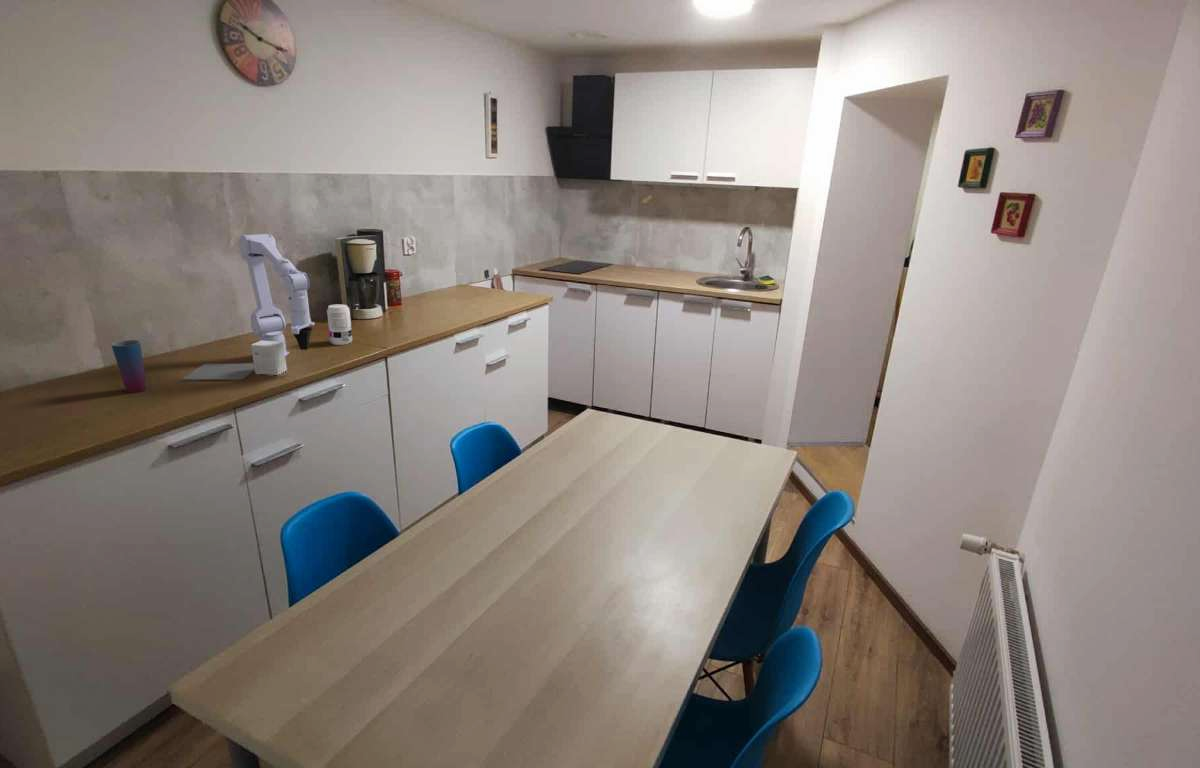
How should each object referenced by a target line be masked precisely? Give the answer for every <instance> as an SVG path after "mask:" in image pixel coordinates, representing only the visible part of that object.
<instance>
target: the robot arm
mask: <svg viewBox="0 0 1200 768" xmlns="http://www.w3.org/2000/svg"><path fill="white" fill-rule="evenodd" d="M237 244H238V247H239V253H240V256H241V258H242V260H245V261H246V263H247V268H248V272H249V276H250V280H251V284H252V289H253V294H254V298H255V302H256V308H255V309H254V310H253V311H252V312H251V313H250V327H251V330H252V332H253V333H254V334H255V335H257V336H258V339H259V341H275V342H283V347H284V354H285V357H287V356H288V355H289V354H290V351H287V343H286V338H285V335H284V331H285V329H286V327H287V324H286V319H285V318H284V316H283V312H282V310H280V309H278V308H277V307H275V306H274V304H273V299H272V295H271V294H272V293H271V290H270V285H269V281H268V276H267V271H266V268H265V267H266V266H265V260H266V259H267V260H268V261H269V262H270V263H271V264H273V265H272V268H273V271H274V273H276V275H277V276H278V277H279V278H280V279H281V281H282V287H283V288H284V290H285V295H286V297H287V299H288V306H289V314H290V320H291V321H290V328H291V329H290V331H291V335H293V337H294V338H295V339H296V342H297V344H298V347H299V349H300V350H302V351H304V350H305V351H307V350H308V349H309V347H310V346H309V345H310V338H311V334H312V331H313V327H312V326H314V325H315V321H312V319H311V313H310V306H309V298H308V297H309V296H308V290H309V289H310V286H311V284H310V283H311V281H310V279H309V276H308V275H307V273H306V272H304V271H299V270H298V268H296V267H295V266H294V264H293V263H292V262H291V261H290V260H289V259H287V258H283V256H282V255H281V253H280V251H278V249H277V243H276V239H275V237H274V236H273V235H272V233H269V232H268V233H264V234H263V233H261V234H259V233H258V234H241V235H240V236H239V238H238V243H237ZM259 341H258V342H259Z"/></svg>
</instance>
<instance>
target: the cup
mask: <svg viewBox="0 0 1200 768" xmlns="http://www.w3.org/2000/svg"><path fill="white" fill-rule="evenodd" d="M110 346H111V348H112V352H113V355H114V357H115V360H116V361H115V362H116V363H117V368H118V371H119V373H120V376H121V379H122V383H123V385H124V389H125V392H126V393H128V394H134V393H135V394H136V393H141V392H144V391H146V390H147V389H148V387H147V383H146V382H147V381H146V374H145V367H144V360H143V353H142V352H143V351H142V346H141V341H140V340H138V339H125V340H118V341H114V342H112V343H111V344H110Z"/></svg>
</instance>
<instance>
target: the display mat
mask: <svg viewBox="0 0 1200 768" xmlns="http://www.w3.org/2000/svg"><path fill="white" fill-rule="evenodd" d="M254 370H255V367H254V363H204V364H202V365H201V366H199V367H197V368H196V369H195V370H192V372H190V373H189V374H187V375H186V376H184V377H183V378H182V379H181V381H182V382H200V381H199V380H243V379H244V378H245V379H246V377H247V376H248V375H249V374H250V373H251V374H253V373H254V372H255V371H254ZM253 371H254V372H253ZM252 372H253V373H252ZM251 374H250V375H251ZM250 375H249V376H250ZM249 376H248V377H249ZM248 377H247V378H248ZM245 379H244V380H245ZM244 380H243V381H244Z"/></svg>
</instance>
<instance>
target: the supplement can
mask: <svg viewBox="0 0 1200 768" xmlns="http://www.w3.org/2000/svg"><path fill="white" fill-rule="evenodd" d="M326 314H327V324H328V333H329V334H328V335H329V341H330V343H331V344H332V345H334V346H346V345H349V343H350V344H351V343H352V342H353V333H352V320H351V312H350V307H348V305H347V304H343V303H341V304H339V303H337V304H336V303H335V304H330V305H328V308H327V309H326Z"/></svg>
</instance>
